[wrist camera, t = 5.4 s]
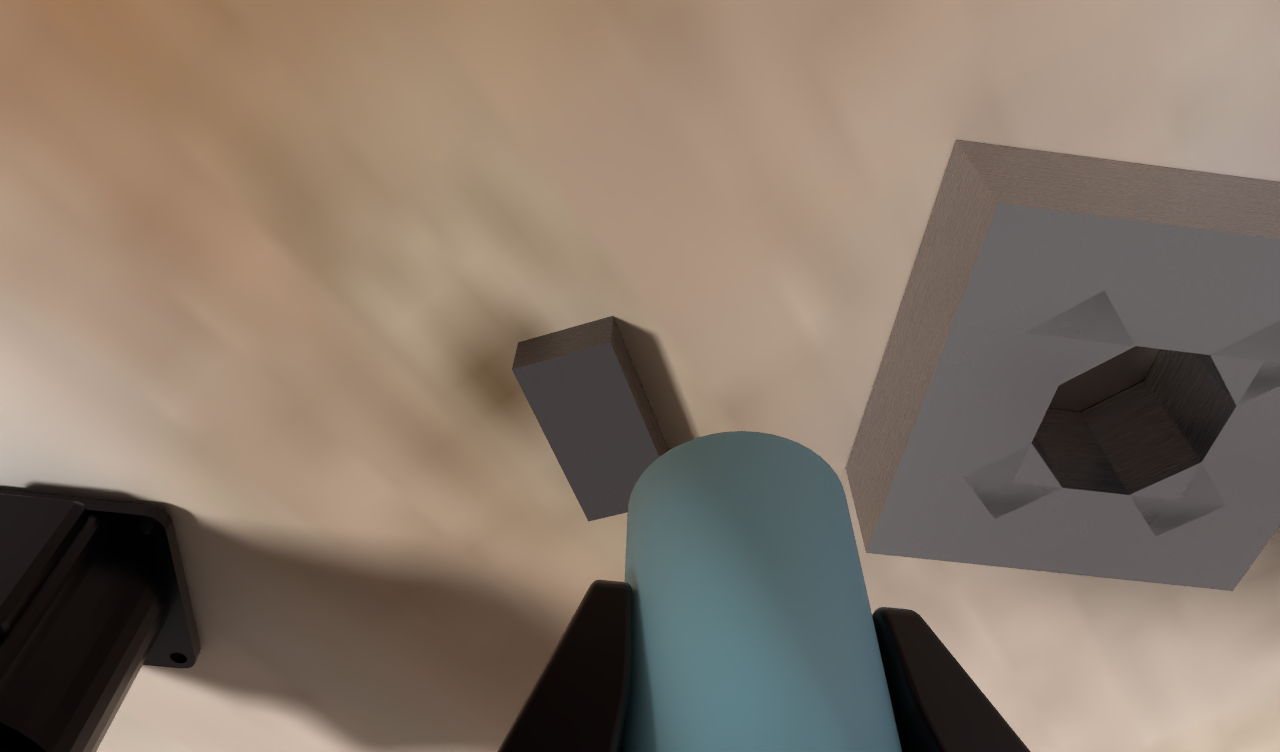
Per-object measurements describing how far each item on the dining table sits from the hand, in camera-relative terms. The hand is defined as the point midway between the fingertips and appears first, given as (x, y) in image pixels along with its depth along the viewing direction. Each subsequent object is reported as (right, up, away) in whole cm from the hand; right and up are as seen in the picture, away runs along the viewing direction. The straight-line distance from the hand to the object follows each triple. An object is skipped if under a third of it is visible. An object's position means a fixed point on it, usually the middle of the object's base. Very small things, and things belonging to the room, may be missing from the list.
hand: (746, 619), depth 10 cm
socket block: (+9, +3, +12) cm, 16 cm away
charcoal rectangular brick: (-2, +2, +14) cm, 14 cm away
